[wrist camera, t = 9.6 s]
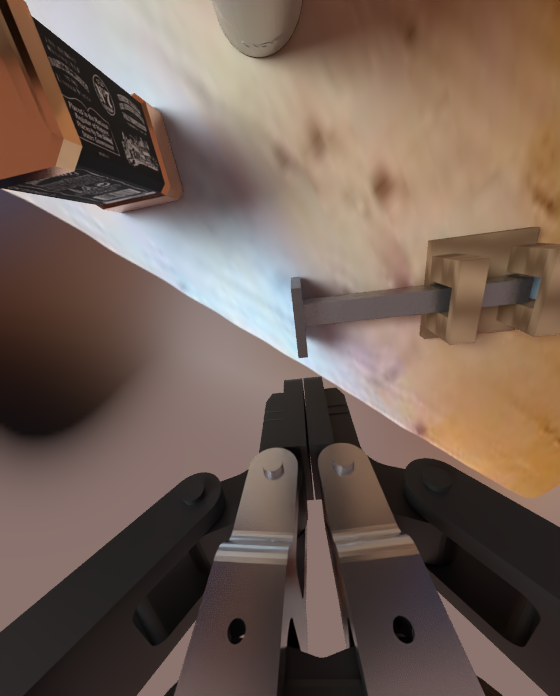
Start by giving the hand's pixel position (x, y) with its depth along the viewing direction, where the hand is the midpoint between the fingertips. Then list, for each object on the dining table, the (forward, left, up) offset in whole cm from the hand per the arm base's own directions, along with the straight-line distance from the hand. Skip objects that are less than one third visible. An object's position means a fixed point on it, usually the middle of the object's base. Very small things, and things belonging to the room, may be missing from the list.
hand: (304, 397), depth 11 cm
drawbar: (+4, +14, -30) cm, 33 cm away
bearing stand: (+4, +25, -31) cm, 40 cm away
